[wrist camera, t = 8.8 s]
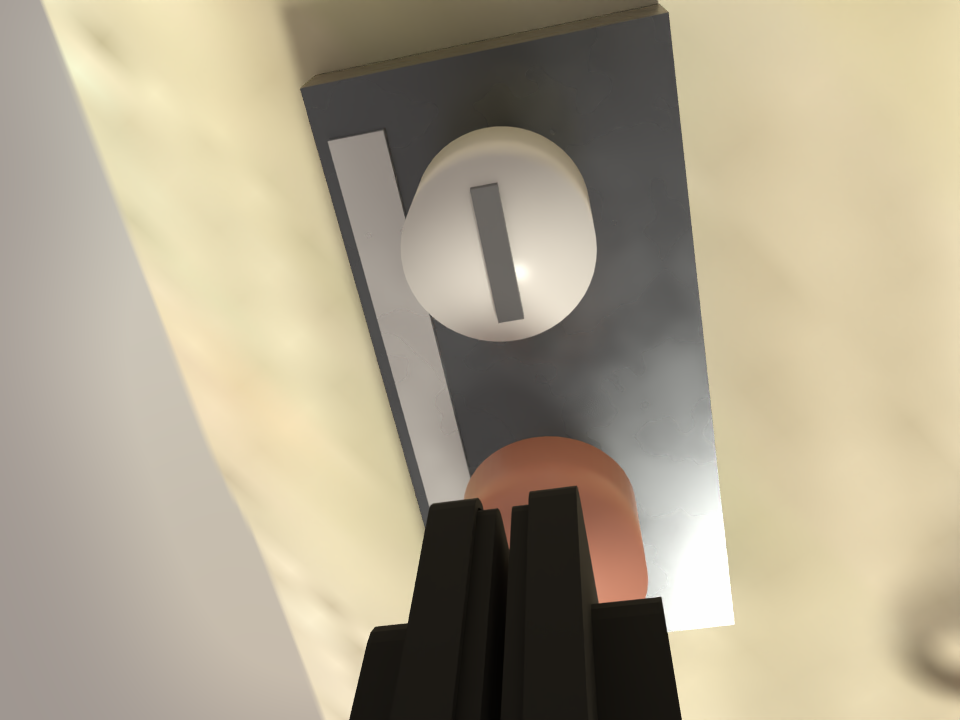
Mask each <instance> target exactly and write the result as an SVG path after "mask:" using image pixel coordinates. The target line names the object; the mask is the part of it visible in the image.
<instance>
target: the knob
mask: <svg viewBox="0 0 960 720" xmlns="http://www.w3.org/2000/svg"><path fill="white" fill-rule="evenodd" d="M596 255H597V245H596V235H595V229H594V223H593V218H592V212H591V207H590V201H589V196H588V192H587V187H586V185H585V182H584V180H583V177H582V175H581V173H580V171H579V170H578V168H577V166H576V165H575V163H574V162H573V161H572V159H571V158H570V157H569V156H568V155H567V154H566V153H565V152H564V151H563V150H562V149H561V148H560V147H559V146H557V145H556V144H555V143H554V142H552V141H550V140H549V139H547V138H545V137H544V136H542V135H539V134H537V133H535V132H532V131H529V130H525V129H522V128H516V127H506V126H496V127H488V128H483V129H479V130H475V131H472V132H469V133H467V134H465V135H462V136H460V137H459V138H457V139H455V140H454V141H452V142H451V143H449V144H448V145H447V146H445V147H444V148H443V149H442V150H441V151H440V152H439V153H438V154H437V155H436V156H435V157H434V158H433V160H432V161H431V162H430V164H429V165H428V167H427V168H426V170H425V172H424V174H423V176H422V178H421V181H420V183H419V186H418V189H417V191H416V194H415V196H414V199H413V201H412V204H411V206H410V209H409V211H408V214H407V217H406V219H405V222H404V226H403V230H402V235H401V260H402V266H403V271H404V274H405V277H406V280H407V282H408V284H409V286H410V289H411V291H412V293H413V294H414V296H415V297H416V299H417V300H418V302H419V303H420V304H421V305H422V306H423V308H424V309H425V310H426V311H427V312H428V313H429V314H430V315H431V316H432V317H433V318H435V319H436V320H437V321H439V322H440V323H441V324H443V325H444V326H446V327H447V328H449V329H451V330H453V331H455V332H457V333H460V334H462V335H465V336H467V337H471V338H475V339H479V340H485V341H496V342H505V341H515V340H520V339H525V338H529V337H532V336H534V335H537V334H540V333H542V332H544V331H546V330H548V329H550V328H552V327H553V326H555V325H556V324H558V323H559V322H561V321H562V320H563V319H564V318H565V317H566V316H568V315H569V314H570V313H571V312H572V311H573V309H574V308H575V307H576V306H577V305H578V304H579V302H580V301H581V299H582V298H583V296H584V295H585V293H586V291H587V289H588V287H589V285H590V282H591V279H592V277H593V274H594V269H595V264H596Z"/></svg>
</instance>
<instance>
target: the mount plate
mask: <svg viewBox="0 0 960 720" xmlns="http://www.w3.org/2000/svg"><path fill="white" fill-rule="evenodd" d="M300 90H301V93H302V97H303V100H304V104H305V107H306V111H307V115H308V118H309V122H310V125H311V129H312V132H313V136H314V139H315V143H316V146H317V150H318V153H319V157H320V160H321V164H322V167H323V171H324V174H325V178H326V181H327V185H328V188H329V192H330V195H331V199H332V202H333V206H334V209H335V213H336V216H337V220H338V223H339V227H340V230H341V234H342V238H343V241H344V245H345V248H346V252H347V255H348V259H349V262H350V266H351V269H352V273H353V276H354V280H355V283H356V287H357V290H358V294H359V297H360V301H361V304H362V308H363V311H364V315H365V318H366V322H367V325H368V329H369V332H370V336H371V339H372V343H373V346H374V350H375V354H376V357H377V361H378V364H379V368H380V371H381V375H382V378H383V382H384V385H385V389H386V392H387V396H388V399H389V403H390V406H391V410H392V413H393V417H394V420H395V424H396V427H397V431H398V434H399V438H400V441H401V445H402V448H403V452H404V455H405V459H406V462H407V466H408V469H409V473H410V477H411V480H412V484H413V487H414V491H415V494H416V498H417V501H418V505H419V508H420V512H421V515H422V519H423V522H424V526H425V528H426V522H427V517H428V511H429V508H430V505H431V504H432V503H440V502H448V501H456V500H464V494H465V491H466V488H467V485H468V482H469V480H470V478H471V476H472V475H473V473H474V472H475V470H476V469H477V468H478V467H479V466H480V464H481V463H482V462H483V461H484V460H485V459H487V458H488V457H489V456H490V455H491V454H493V453H494V452H496V451H498V450H499V449H501V448H503V447H505V446H507V445H509V444H511V443H514V442H517V441H520V440H524V439H528V438H533V437H544V436H553V437H564V438H570V439H574V440H578V441H582V442H584V443H587V444H590V445H592V446H594V447H596V448H598V449H600V450H601V451H603V452H604V453H606V454H607V455H608V456H610V457H611V458H612V459H613V460H614V461H615V462H616V463H618V465H619V466H620V467H621V468H622V469H623V471H624V472H625V474H626V475H627V477H628V479H629V480H630V483H631V485H632V487H633V491H634V495H635V499H636V505H637V511H638V517H639V523H640V529H641V535H642V541H643V547H644V553H645V559H646V565H647V571H648V588H647V594H646V597H645V598H654V597H662V602H663V608H664V614H665V620H666V626H667V632H672V631H681V630H689V629H698V628H707V627H715V626H724V625H733V624H734V616H733V607H732V598H731V589H730V579H729V570H728V561H727V551H726V542H725V533H724V523H723V514H722V505H721V496H720V486H719V477H718V468H717V458H716V449H715V440H714V431H713V421H712V412H711V403H710V393H709V384H708V375H707V365H706V356H705V347H704V338H703V328H702V319H701V310H700V300H699V291H698V282H697V273H696V263H695V254H694V245H693V235H692V226H691V217H690V207H689V198H688V189H687V180H686V170H685V161H684V152H683V142H682V133H681V124H680V115H679V105H678V96H677V87H676V77H675V68H674V59H673V50H672V40H671V31H670V22H669V12H668V11H667V10H665V9H664V8H663V7H662V6H661V5H660V4H656V5H651V6H646V7H641V8H637V9H632V10H627V11H622V12H617V13H613V14H608V15H603V16H598V17H593V18H589V19H584V20H579V21H574V22H569V23H565V24H560V25H555V26H550V27H545V28H541V29H536V30H531V31H526V32H521V33H517V34H512V35H507V36H502V37H497V38H493V39H488V40H483V41H478V42H473V43H469V44H464V45H459V46H454V47H449V48H445V49H440V50H435V51H430V52H425V53H421V54H416V55H411V56H406V57H401V58H397V59H392V60H387V61H382V62H377V63H372V64H368V65H363V66H358V67H353V68H348V69H344V70H339V71H334V72H329V73H324V74H320V75H315V76H314V77H313V78H312V79H311V80H309V81H308V82H307V83H306V84H305V85H304V86H302V87H301V88H300ZM496 126H506V127H516V128H522V129H525V130H529V131H532V132H535V133H537V134H539V135H542V136H544V137H545V138H547V139H549V140H550V141H552V142H554V143H555V144H556V145H557V146H559V147H560V148H561V149H562V150H563V151H564V152H565V153H566V154H567V155H568V156H569V157H570V158H571V159H572V161H573V162H574V163H575V165H576V166H577V168H578V170H579V171H580V173H581V175H582V177H583V180H584V182H585V185H586V187H587V192H588V196H589V201H590V207H591V212H592V218H593V223H594V229H595V235H596V245H597V255H596V264H595V269H594V274H593V277H592V279H591V282H590V285H589V287H588V289H587V291H586V293H585V295H584V296H583V298H582V299H581V301H580V302H579V304H578V305H577V306H576V307H575V308H574V309H573V311H572V312H571V313H570V314H569V315H568V316H566V317H565V318H564V319H563V320H562V321H561V322H559V323H558V324H556V325H555V326H553V327H552V328H550V329H548V330H546V331H544V332H542V333H540V334H537V335H534V336H532V337H529V338H525V339H520V340H515V341H505V342H496V341H485V340H479V339H475V338H471V337H467V336H465V335H462V334H460V333H457V332H455V331H453V330H451V329H449V328H447V327H446V326H444V325H443V324H441V323H440V322H439V321H437V320H436V319H435V318H433V317H432V316H431V315H430V314H429V313H428V312H427V311H426V310H425V309H424V308H423V306H422V305H421V304H420V303H419V302H418V300H417V299H416V297H415V296H414V294H413V293H412V291H411V289H410V286H409V284H408V282H407V280H406V277H405V274H404V271H403V266H402V260H401V235H402V230H403V226H404V222H405V219H406V217H407V214H408V211H409V209H410V206H411V204H412V201H413V199H414V196H415V194H416V191H417V189H418V186H419V183H420V181H421V178H422V176H423V174H424V172H425V170H426V168H427V167H428V165H429V164H430V162H431V161H432V160H433V158H434V157H435V156H436V155H437V154H438V153H439V152H440V151H441V150H442V149H443V148H444V147H445V146H447V145H448V144H449V143H451V142H452V141H454V140H455V139H457V138H459V137H460V136H462V135H465V134H467V133H469V132H472V131H475V130H479V129H483V128H488V127H496Z"/></svg>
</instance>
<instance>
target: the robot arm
mask: <svg viewBox="0 0 960 720" xmlns="http://www.w3.org/2000/svg"><path fill="white" fill-rule="evenodd" d="M349 720H682V718H681V712H680V706H679V700H678V694H677V688H676V681H675V675H674V669H673V663H672V657H671V651H670V645H669V639H668V632H667V626H666V620H665V614H664V608H663V602H662V597H654V598H644V599H635V600H625V601H616V602H606V603H599V601H598V596H597V590H596V584H595V579H594V573H593V568H592V562H591V556H590V551H589V545H588V539H587V534H586V528H585V523H584V517H583V511H582V506H581V500H580V495H579V491H578V487H577V486H569V487H561V488H553V489H545V490H537V491H530V492H529V498H528V505H520V506H513V507H512V512H511V530H510V549H509V546H508V542H507V537H506V533H505V529H504V524H503V520H502V516H501V513H500V510H499V509H498V508H495V509H487V510H484V509H483V505H482V503H481V501H480V499H479V498H472V499H464V500H456V501H448V502H440V503H432V504H431V505H430V508H429V511H428V517H427V522H426V528H425V533H424V539H423V544H422V549H421V555H420V560H419V566H418V571H417V576H416V582H415V587H414V593H413V598H412V604H411V609H410V614H409V620H408V623H407V624H397V625H387V626H378V627H375V628H374V629H373V630H372V632H371V633H370V636H369V639H368V642H367V646H366V650H365V655H364V659H363V663H362V667H361V672H360V676H359V680H358V685H357V689H356V693H355V697H354V702H353V706H352V710H351V715H350V719H349Z"/></svg>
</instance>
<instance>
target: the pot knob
mask: <svg viewBox="0 0 960 720" xmlns="http://www.w3.org/2000/svg"><path fill="white" fill-rule="evenodd" d="M569 486H577V487H578V491H579V495H580V500H581V506H582V511H583V517H584V523H585V528H586V534H587V539H588V545H589V551H590V556H591V562H592V568H593V573H594V579H595V584H596V590H597V596H598V601H599V603H606V602H616V601H625V600H635V599H644V598H645V597H646V594H647V588H648V571H647V565H646V559H645V553H644V547H643V541H642V535H641V529H640V523H639V517H638V511H637V505H636V499H635V495H634V491H633V487H632V485H631V483H630V480H629V479H628V477H627V475H626V474H625V472H624V471H623V469H622V468H621V467H620V466H619V465H618V463H616V462H615V461H614V460H613V459H612V458H611V457H610V456H608V455H607V454H606V453H604V452H603V451H601V450H600V449H598V448H596V447H594V446H592V445H590V444H587V443H584V442H582V441H578V440H574V439H570V438H564V437H553V436H544V437H533V438H528V439H524V440H520V441H517V442H514V443H511V444H509V445H507V446H505V447H503V448H501V449H499V450H498V451H496V452H494V453H493V454H491V455H490V456H489V457H488V458H487V459H485V460H484V461H483V462H482V463H481V464H480V466H479V467H478V468H477V469H476V470H475V472H474V473H473V475H472V476H471V478H470V480H469V482H468V485H467V488H466V491H465V494H464V499H472V498H479V499H480V501H481V503H482V505H483V509H484V510H487V509H495V508H498V509H499V510H500V513H501V516H502V520H503V524H504V529H505V533H506V537H507V542H508V546H509V549H510V530H511V512H512V507H513V506H520V505H528V498H529V492H530V491H537V490H545V489H553V488H561V487H569Z"/></svg>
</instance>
